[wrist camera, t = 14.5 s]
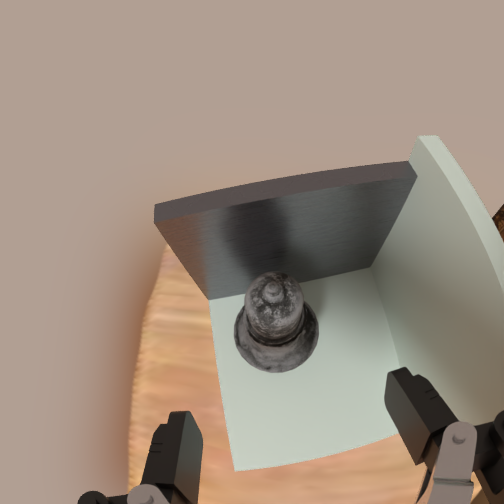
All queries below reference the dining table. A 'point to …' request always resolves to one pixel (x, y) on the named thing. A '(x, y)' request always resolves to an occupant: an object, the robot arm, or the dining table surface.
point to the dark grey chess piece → (275, 324)
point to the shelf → (351, 297)
